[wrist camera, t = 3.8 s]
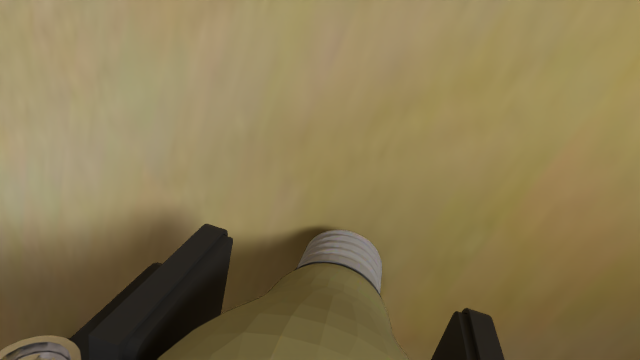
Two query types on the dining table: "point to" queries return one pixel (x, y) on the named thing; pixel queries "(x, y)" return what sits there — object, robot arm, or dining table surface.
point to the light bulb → (307, 312)
